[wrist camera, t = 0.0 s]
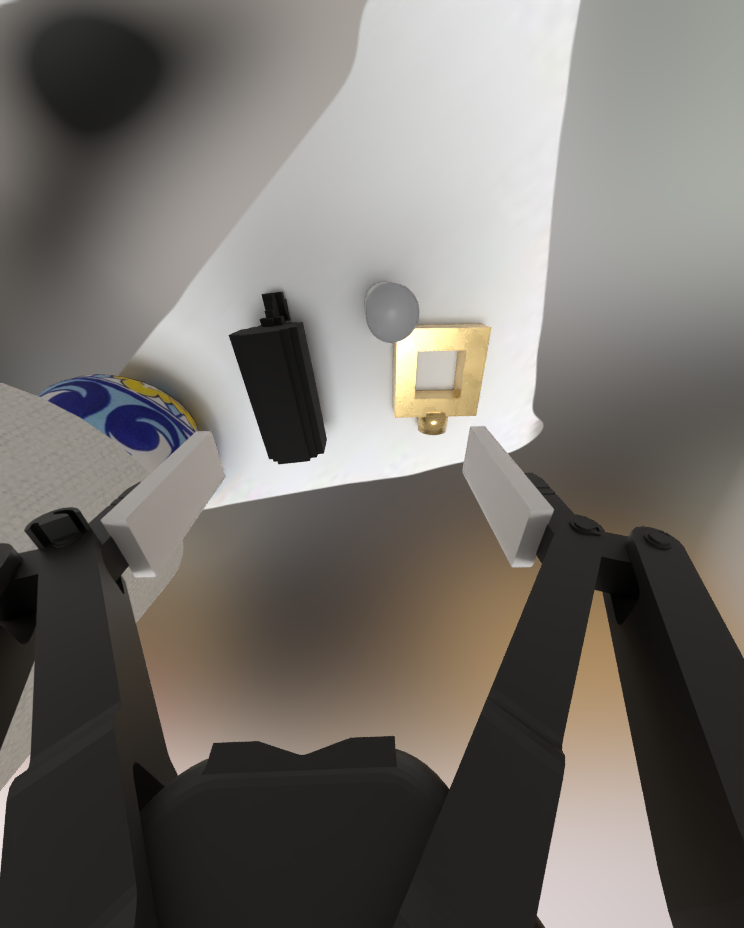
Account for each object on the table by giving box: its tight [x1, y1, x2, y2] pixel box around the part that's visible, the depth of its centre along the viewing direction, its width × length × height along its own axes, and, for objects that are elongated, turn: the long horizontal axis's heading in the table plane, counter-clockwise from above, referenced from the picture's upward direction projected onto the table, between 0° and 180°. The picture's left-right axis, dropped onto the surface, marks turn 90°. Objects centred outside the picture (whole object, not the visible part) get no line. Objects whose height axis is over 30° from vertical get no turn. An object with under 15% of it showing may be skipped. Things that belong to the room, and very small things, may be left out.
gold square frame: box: [393, 324, 491, 435], centre depth 41 cm, size 14×11×4 cm
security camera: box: [229, 292, 327, 464], centre depth 37 cm, size 7×18×10 cm, turn 6°
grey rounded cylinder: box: [365, 282, 419, 343], centre depth 31 cm, size 4×4×14 cm
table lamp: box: [0, 374, 199, 791], centre depth 28 cm, size 27×27×40 cm
